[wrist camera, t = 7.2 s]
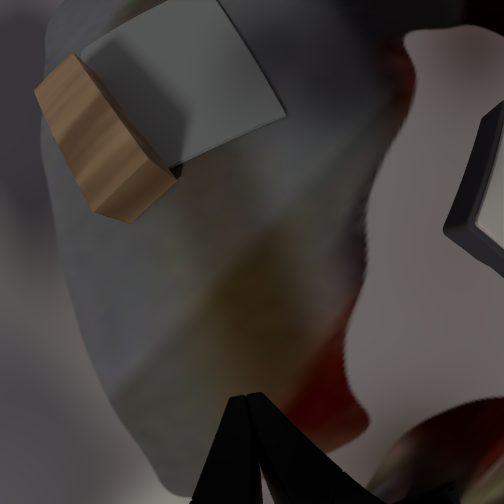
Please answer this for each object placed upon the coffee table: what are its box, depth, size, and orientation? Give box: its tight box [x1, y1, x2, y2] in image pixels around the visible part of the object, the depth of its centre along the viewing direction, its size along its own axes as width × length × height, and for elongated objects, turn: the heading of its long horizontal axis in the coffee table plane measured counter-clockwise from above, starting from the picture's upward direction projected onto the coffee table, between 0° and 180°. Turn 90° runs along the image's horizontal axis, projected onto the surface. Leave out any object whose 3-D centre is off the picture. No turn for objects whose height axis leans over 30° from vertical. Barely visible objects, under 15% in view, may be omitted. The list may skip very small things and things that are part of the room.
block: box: [34, 52, 177, 224], centre depth 20 cm, size 4×4×14 cm
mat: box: [81, 0, 286, 170], centre depth 22 cm, size 18×14×1 cm
